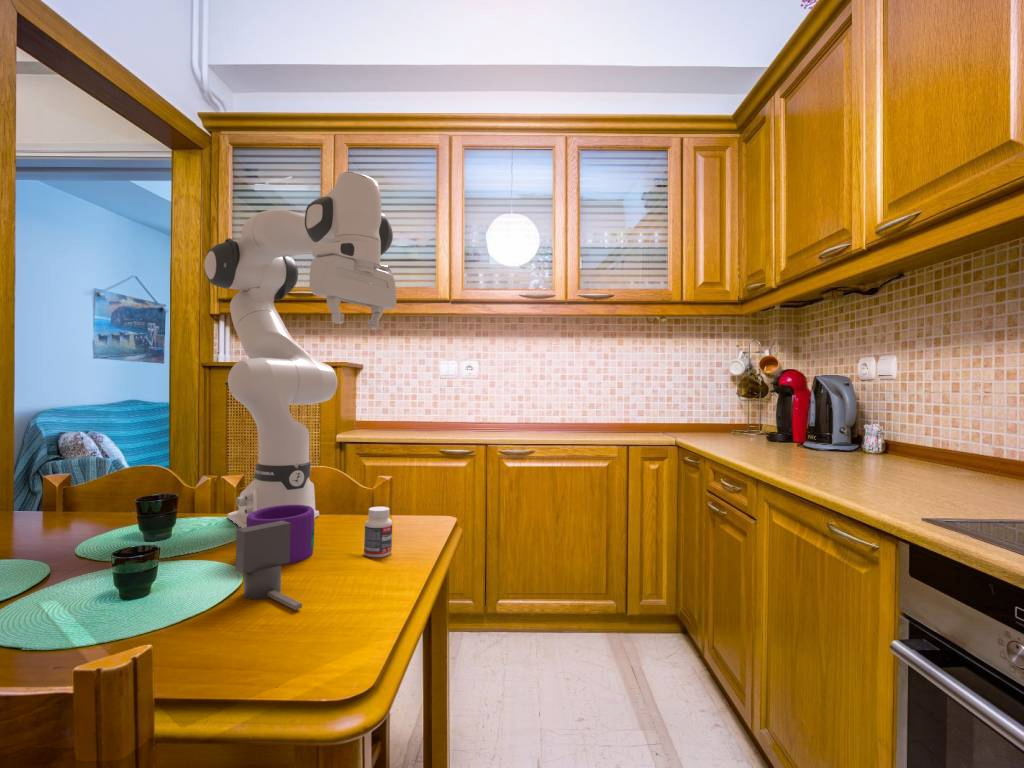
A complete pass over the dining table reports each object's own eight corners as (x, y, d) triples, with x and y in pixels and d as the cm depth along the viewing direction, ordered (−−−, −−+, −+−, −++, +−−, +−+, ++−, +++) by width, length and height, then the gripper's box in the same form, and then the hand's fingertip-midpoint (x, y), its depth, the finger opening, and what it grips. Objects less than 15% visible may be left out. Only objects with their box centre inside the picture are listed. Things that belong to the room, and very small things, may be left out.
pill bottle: (384, 559, 99) (385, 512, 100) (359, 556, 101) (360, 510, 101) (395, 550, 105) (397, 506, 105) (371, 548, 106) (372, 504, 106)
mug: (317, 571, 93) (315, 515, 93) (245, 582, 88) (244, 523, 88) (312, 543, 109) (311, 495, 108) (251, 551, 104) (250, 501, 104)
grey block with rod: (230, 595, 77) (232, 527, 77) (276, 582, 83) (278, 519, 83) (273, 619, 69) (275, 544, 70) (321, 603, 75) (322, 533, 75)
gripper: (381, 269, 113) (380, 332, 113) (304, 244, 95) (302, 320, 95) (404, 266, 110) (402, 331, 110) (329, 240, 92) (327, 318, 92)
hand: (356, 326), depth 102 cm, fingers open, 8 cm apart
